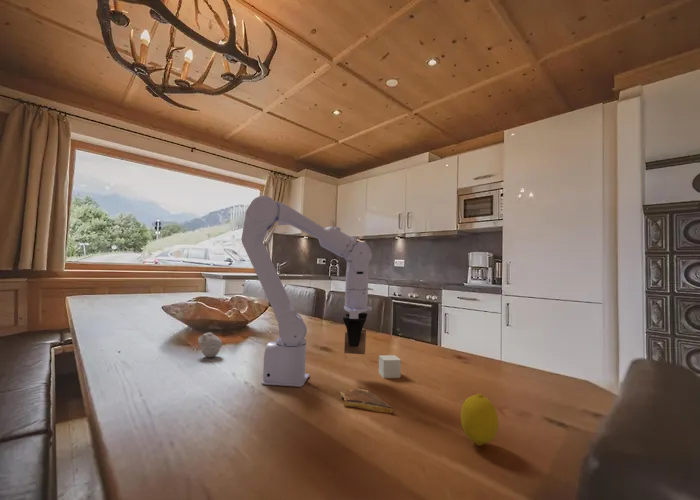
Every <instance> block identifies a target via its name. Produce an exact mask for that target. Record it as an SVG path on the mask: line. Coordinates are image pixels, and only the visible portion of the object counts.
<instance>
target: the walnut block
mask: <svg viewBox="0 0 700 500" xmlns="http://www.w3.org/2000/svg"><path fill="white" fill-rule="evenodd" d="M366 343H367V329H362V331H361V336H360V342H359V346H358V347H350V345H349V340H348V333H347V329H346V330H345V333H344V349H343V350H344V354H352V355H353V354H354V355H366V347H367V346H366V345H367V344H366Z"/></svg>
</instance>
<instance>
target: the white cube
mask: <svg viewBox="0 0 700 500" xmlns="http://www.w3.org/2000/svg"><path fill="white" fill-rule="evenodd" d="M401 361H402V360H401V358H399V357H398V356H397V355H396V354H395V355H394V354H391V355H390V354H389V355H387V354H385V355H383V354H382V355H381V354H380V355H379V356H378V374H379V375H380V376H381V377H382V378H383V379H398V378H399V379H400V378H401V370H402V369H401V368H402V362H401Z"/></svg>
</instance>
